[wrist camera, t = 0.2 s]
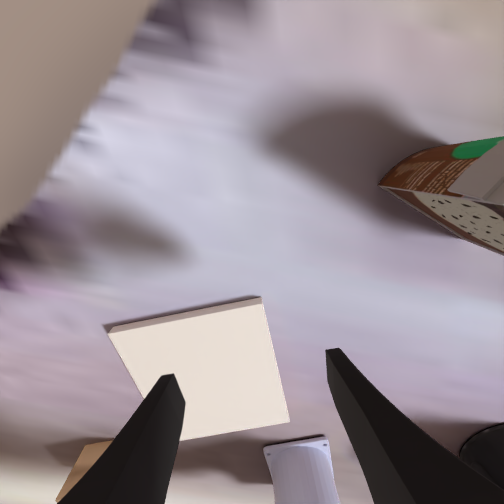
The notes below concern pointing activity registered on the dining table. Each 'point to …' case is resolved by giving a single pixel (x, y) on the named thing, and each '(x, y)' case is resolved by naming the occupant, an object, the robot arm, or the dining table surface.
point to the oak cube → (83, 465)
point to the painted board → (209, 365)
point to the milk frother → (486, 454)
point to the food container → (456, 189)
